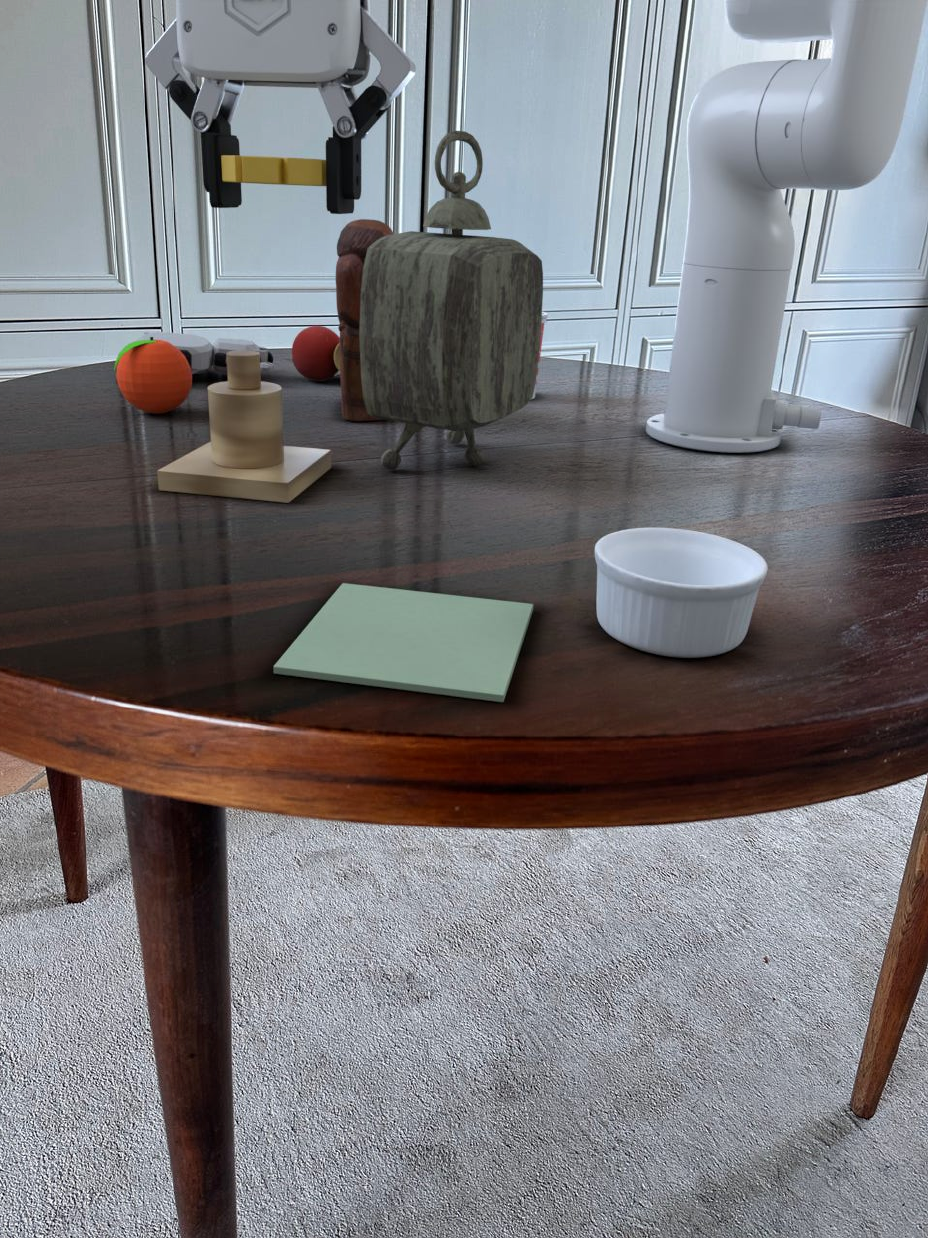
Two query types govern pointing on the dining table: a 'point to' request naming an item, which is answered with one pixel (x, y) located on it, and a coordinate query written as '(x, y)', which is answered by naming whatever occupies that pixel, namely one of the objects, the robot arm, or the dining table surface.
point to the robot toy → (210, 351)
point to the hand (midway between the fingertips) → (283, 207)
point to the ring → (273, 170)
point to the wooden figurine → (353, 309)
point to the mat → (412, 642)
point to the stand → (246, 443)
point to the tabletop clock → (449, 321)
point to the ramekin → (676, 590)
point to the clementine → (153, 375)
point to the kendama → (316, 353)
